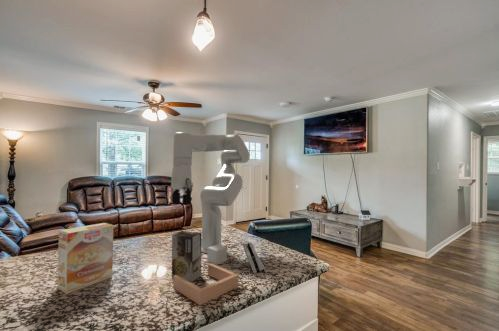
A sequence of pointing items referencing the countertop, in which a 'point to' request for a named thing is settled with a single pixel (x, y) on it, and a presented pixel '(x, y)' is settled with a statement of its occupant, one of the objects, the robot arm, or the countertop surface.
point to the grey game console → (253, 257)
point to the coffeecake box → (84, 256)
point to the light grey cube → (217, 254)
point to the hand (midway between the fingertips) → (181, 203)
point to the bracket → (211, 291)
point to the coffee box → (186, 255)
